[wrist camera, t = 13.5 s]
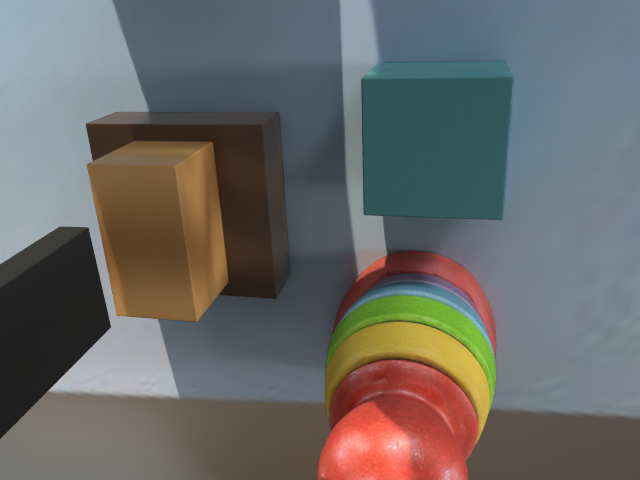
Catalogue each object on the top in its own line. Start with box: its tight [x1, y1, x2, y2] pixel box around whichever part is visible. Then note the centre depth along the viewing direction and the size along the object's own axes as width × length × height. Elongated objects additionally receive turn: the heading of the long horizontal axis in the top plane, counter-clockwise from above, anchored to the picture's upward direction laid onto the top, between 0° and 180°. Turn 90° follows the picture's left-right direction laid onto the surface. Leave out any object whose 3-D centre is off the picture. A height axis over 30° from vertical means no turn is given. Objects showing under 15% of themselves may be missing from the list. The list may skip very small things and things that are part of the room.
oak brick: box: [87, 141, 229, 322], centre depth 34 cm, size 9×5×5 cm, turn 3°
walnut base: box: [86, 112, 290, 299], centre depth 38 cm, size 11×11×4 cm
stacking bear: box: [318, 251, 496, 480], centre depth 32 cm, size 11×10×18 cm
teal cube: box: [361, 61, 514, 220], centre depth 32 cm, size 7×7×6 cm
